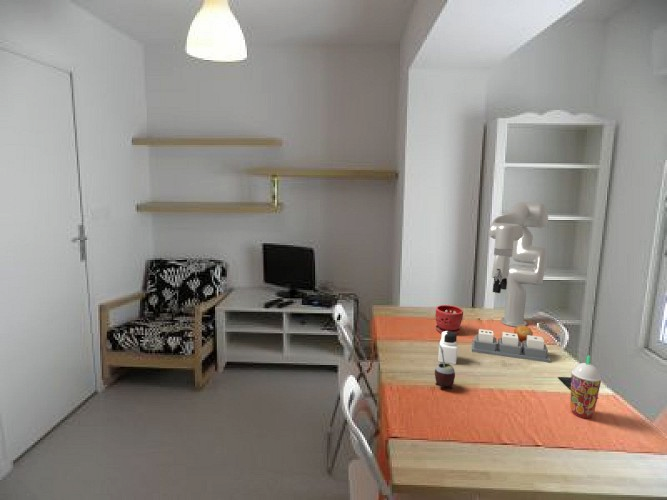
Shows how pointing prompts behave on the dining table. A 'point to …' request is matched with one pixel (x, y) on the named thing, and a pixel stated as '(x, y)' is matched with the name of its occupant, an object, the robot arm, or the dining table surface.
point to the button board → (510, 350)
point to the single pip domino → (535, 342)
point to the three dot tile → (485, 336)
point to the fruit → (522, 332)
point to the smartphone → (566, 381)
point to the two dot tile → (510, 339)
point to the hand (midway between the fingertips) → (499, 290)
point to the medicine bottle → (448, 347)
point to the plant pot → (448, 318)
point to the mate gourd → (444, 374)
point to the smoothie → (584, 389)
